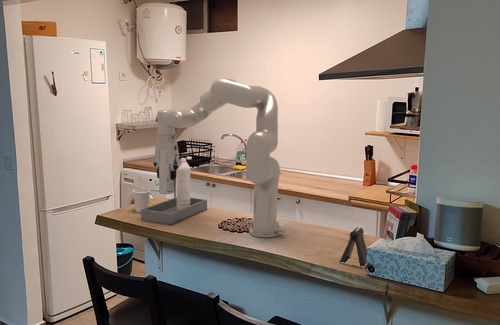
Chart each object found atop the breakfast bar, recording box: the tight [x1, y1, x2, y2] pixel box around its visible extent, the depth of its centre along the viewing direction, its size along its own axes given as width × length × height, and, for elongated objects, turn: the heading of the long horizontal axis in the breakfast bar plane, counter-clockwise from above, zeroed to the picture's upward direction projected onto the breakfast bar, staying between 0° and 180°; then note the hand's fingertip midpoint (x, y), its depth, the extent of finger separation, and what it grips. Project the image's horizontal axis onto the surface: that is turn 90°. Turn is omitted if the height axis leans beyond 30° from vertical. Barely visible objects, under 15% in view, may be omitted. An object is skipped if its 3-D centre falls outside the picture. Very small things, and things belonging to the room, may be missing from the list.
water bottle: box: [176, 156, 193, 211], centre depth 208 cm, size 9×6×25 cm
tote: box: [140, 196, 208, 226], centre depth 203 cm, size 16×30×5 cm, turn 155°
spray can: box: [158, 149, 175, 195], centre depth 194 cm, size 6×6×20 cm
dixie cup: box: [131, 188, 151, 213], centre depth 209 cm, size 8×8×10 cm
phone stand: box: [339, 226, 368, 266], centre depth 149 cm, size 9×6×12 cm, turn 59°
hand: (166, 178), depth 195 cm, fingers closed on spray can, 6 cm apart
